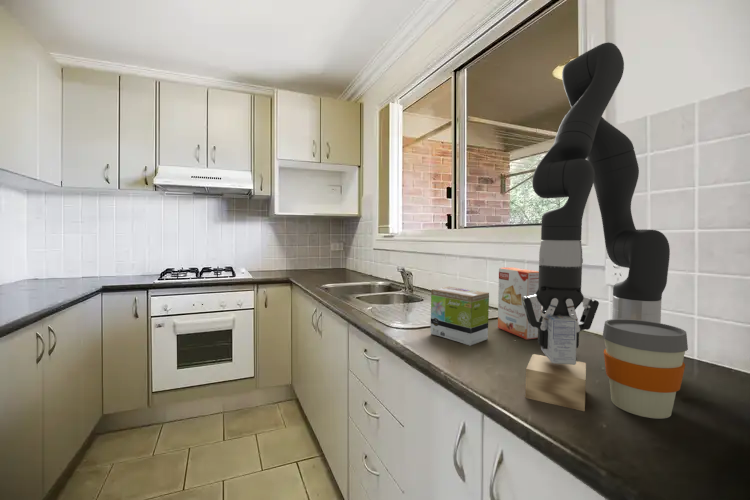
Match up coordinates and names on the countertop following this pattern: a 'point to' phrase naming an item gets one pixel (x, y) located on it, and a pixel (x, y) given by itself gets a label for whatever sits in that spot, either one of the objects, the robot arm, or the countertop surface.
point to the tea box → (460, 314)
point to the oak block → (556, 382)
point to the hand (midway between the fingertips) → (557, 348)
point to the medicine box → (561, 339)
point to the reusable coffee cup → (644, 365)
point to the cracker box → (517, 301)
